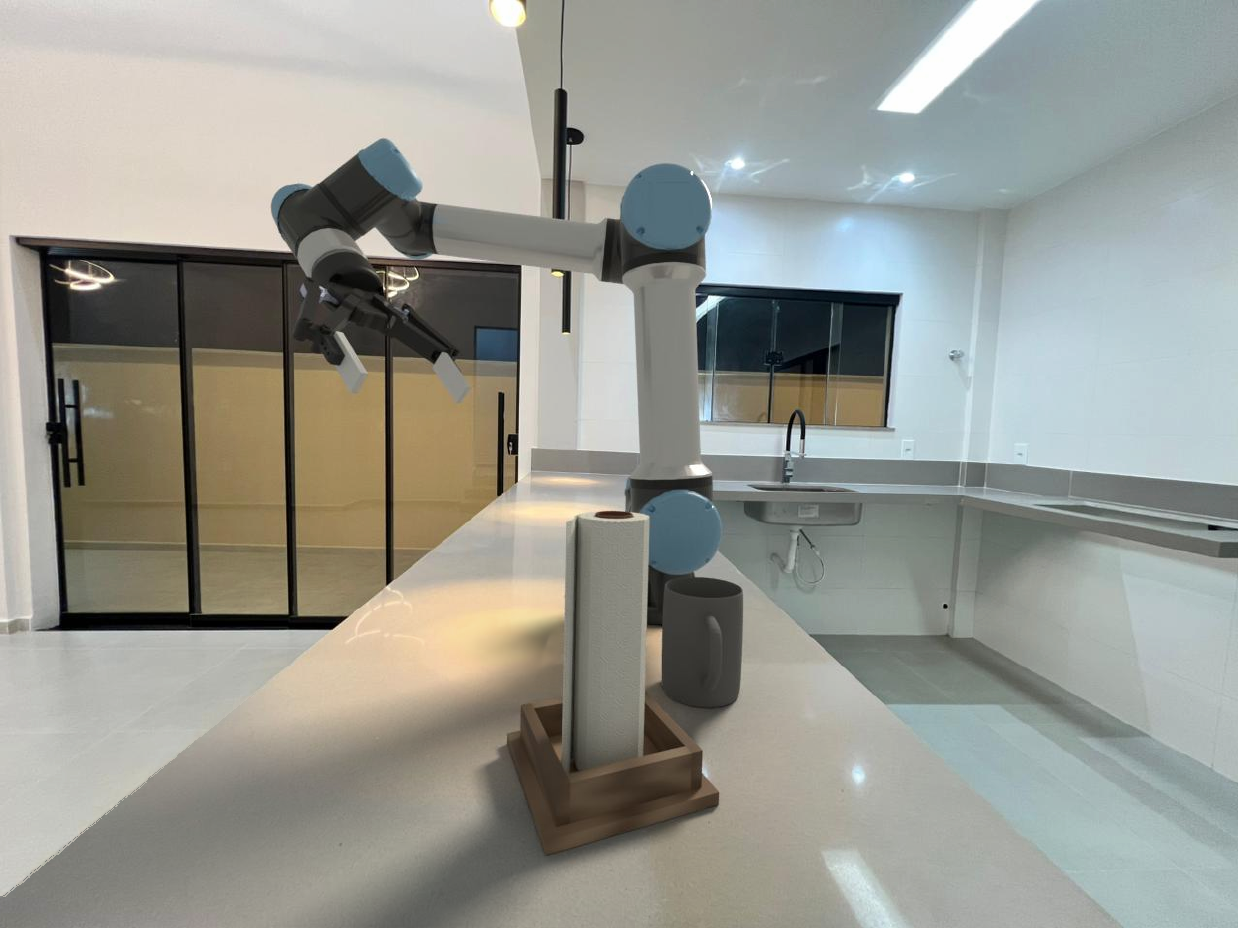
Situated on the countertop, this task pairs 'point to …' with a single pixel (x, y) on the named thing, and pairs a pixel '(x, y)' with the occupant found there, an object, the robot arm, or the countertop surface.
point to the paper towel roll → (604, 638)
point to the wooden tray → (606, 779)
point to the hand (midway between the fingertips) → (416, 390)
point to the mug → (702, 641)
